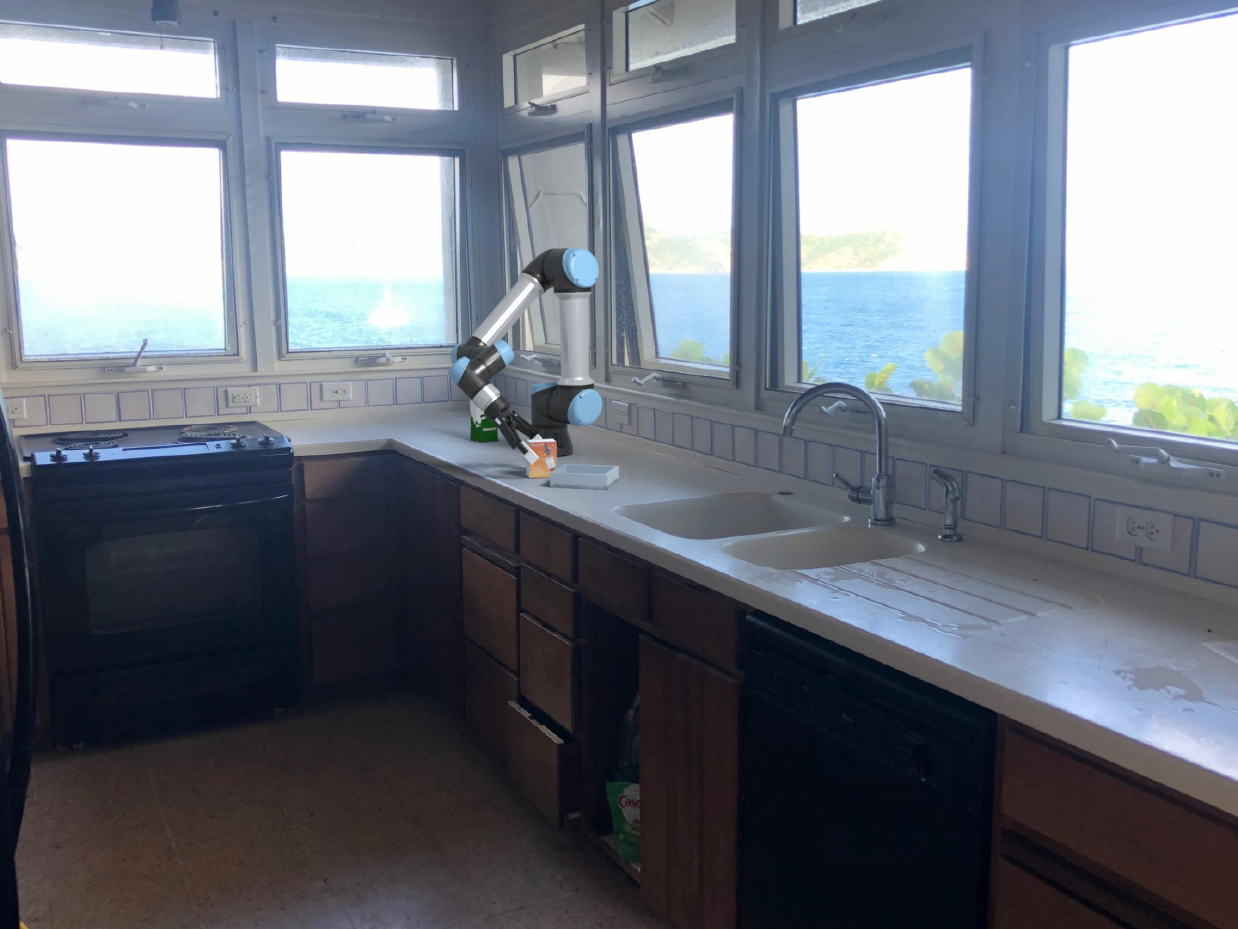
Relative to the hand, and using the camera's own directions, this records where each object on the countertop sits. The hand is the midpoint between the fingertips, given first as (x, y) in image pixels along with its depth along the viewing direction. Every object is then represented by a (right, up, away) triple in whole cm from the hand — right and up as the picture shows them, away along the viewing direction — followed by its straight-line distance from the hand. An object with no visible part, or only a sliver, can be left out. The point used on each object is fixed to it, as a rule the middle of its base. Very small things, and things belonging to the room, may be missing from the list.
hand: (542, 457), depth 307 cm
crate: (+12, -7, -9) cm, 17 cm away
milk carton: (-25, +6, +68) cm, 73 cm away
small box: (-1, -6, +2) cm, 6 cm away
